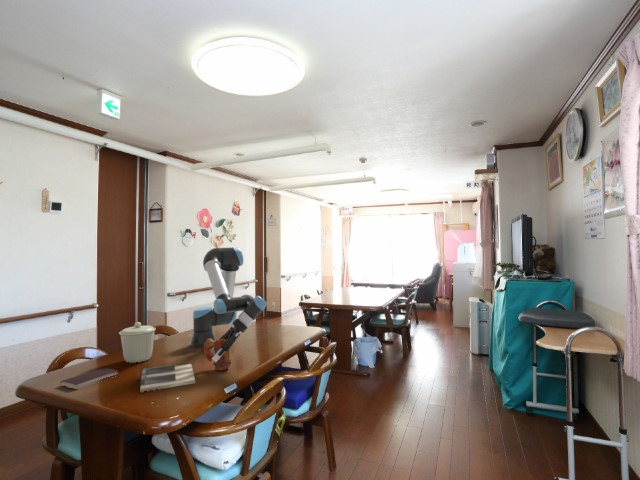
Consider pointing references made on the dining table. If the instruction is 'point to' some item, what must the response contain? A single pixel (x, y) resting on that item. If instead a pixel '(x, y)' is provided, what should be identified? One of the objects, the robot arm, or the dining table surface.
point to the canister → (137, 342)
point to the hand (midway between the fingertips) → (212, 357)
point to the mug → (224, 359)
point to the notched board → (166, 377)
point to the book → (90, 377)
